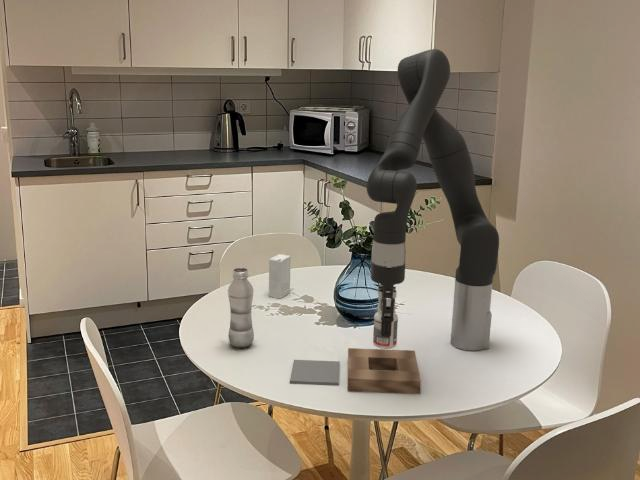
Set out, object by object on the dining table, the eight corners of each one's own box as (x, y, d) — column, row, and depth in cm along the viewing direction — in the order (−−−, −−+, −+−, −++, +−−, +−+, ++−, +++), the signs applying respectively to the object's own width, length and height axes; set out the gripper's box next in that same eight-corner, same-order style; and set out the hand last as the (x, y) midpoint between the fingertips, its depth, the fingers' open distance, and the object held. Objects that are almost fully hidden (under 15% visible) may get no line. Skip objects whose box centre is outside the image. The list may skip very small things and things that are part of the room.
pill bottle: (386, 338, 166) (388, 299, 163) (401, 346, 161) (403, 306, 159) (368, 343, 163) (369, 303, 160) (382, 351, 158) (384, 310, 156)
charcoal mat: (339, 363, 170) (339, 361, 170) (338, 385, 159) (338, 382, 159) (293, 361, 170) (293, 359, 170) (289, 383, 160) (290, 380, 160)
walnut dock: (414, 361, 172) (414, 350, 171) (420, 393, 156) (420, 381, 155) (347, 359, 172) (348, 348, 171) (347, 390, 157) (347, 378, 156)
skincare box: (278, 290, 218) (278, 253, 215) (290, 293, 216) (291, 255, 213) (267, 296, 213) (267, 258, 209) (280, 299, 211) (280, 260, 208)
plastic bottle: (254, 339, 182) (254, 265, 177) (253, 350, 176) (252, 274, 170) (229, 339, 182) (228, 265, 177) (227, 350, 176) (225, 274, 170)
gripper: (370, 250, 164) (368, 318, 168) (372, 269, 150) (369, 343, 154) (403, 251, 163) (399, 319, 168) (408, 270, 149) (404, 344, 154)
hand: (385, 330), depth 161 cm, fingers closed on pill bottle, 5 cm apart
